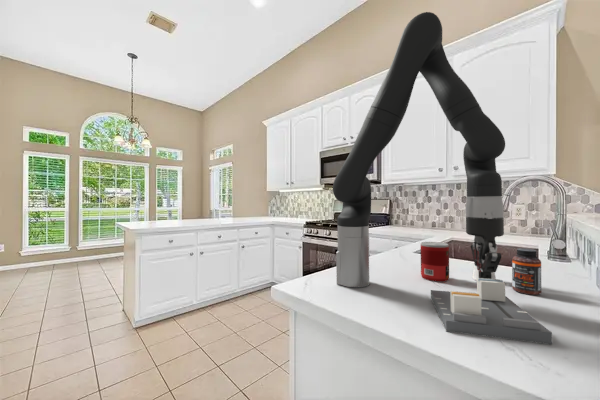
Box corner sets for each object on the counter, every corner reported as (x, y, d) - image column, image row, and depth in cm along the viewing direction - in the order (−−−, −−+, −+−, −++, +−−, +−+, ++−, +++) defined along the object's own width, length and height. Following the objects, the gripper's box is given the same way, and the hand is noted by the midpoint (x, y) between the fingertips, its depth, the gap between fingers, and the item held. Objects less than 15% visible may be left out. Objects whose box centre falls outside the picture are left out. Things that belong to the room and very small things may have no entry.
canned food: (453, 282, 80) (452, 245, 80) (424, 281, 81) (423, 245, 81) (444, 275, 87) (444, 241, 87) (418, 274, 89) (418, 241, 89)
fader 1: (454, 316, 51) (453, 294, 51) (450, 310, 54) (450, 289, 54) (481, 319, 50) (481, 297, 50) (476, 313, 53) (476, 291, 53)
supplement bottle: (511, 292, 71) (510, 249, 71) (513, 286, 75) (512, 246, 75) (541, 297, 67) (540, 252, 67) (541, 291, 71) (541, 249, 71)
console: (446, 331, 50) (446, 314, 50) (430, 297, 67) (430, 285, 67) (552, 344, 45) (552, 325, 45) (506, 304, 62) (506, 291, 62)
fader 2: (481, 299, 60) (481, 280, 60) (476, 294, 63) (476, 277, 63) (505, 301, 59) (505, 282, 59) (499, 296, 61) (499, 278, 61)
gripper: (458, 214, 72) (459, 278, 72) (475, 217, 59) (476, 295, 59) (491, 214, 70) (492, 280, 70) (515, 217, 57) (516, 298, 57)
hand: (485, 287), depth 64 cm, fingers closed
